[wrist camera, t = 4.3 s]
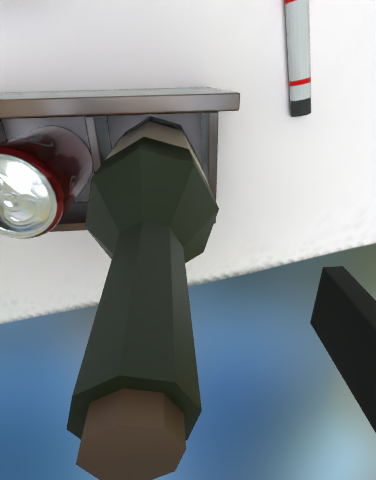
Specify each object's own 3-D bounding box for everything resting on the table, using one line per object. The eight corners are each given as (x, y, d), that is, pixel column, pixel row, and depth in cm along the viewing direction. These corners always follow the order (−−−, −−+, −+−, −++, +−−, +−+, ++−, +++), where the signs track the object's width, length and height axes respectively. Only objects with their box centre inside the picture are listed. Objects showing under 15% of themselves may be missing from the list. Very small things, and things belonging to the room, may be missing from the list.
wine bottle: (165, 205, 36) (168, 554, 10) (104, 163, 33) (-130, 493, 7) (210, 149, 33) (388, 421, 7) (147, 98, 30) (41, 221, 4)
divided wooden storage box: (20, 211, 35) (-57, 282, 23) (-16, 93, 29) (-147, 103, 17) (208, 202, 36) (230, 266, 24) (209, 87, 30) (240, 92, 18)
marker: (306, 110, 32) (314, 112, 30) (288, 115, 32) (295, 117, 30) (300, -85, 25) (311, -98, 23) (277, -79, 25) (285, -91, 23)
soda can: (107, 172, 34) (81, 215, 23) (55, 203, 35) (8, 257, 24) (64, 111, 30) (11, 127, 20) (8, 147, 32) (-69, 181, 21)
